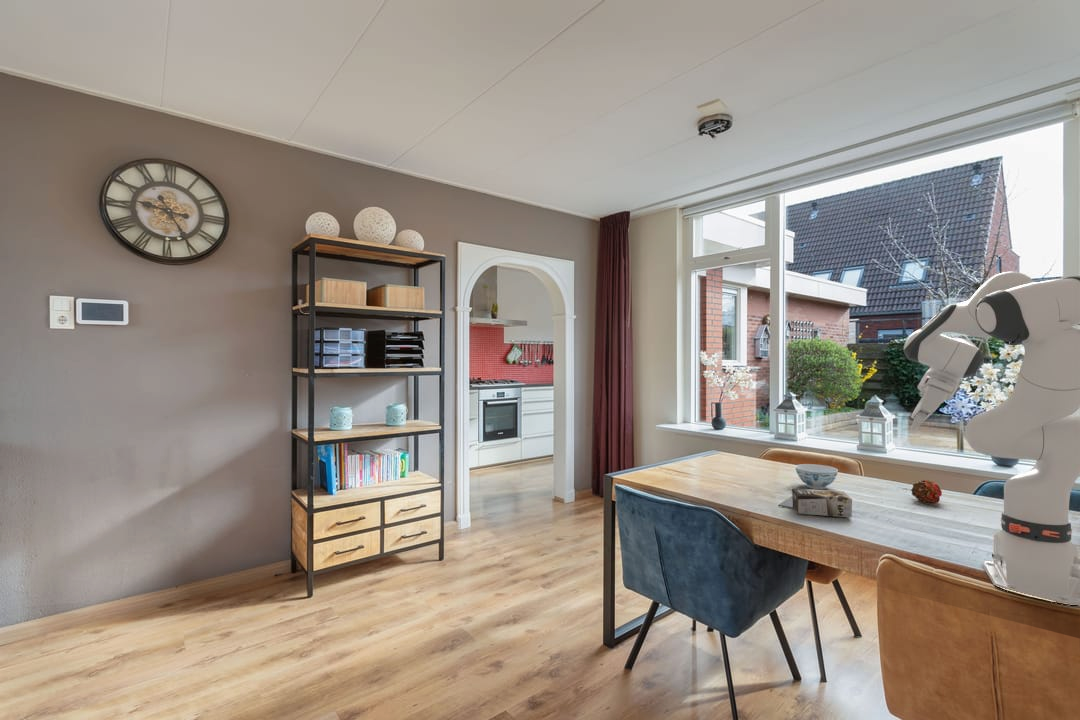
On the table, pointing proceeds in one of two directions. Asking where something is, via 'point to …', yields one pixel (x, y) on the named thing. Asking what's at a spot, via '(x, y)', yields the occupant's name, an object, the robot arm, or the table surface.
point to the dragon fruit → (926, 491)
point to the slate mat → (787, 503)
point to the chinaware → (816, 475)
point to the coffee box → (822, 502)
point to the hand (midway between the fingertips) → (913, 428)
